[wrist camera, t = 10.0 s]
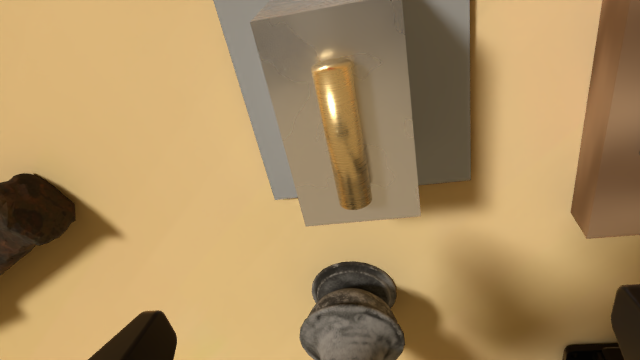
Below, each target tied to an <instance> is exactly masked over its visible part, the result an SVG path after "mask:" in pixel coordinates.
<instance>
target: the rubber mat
mask: <svg viewBox="0 0 640 360" xmlns="http://www.w3.org/2000/svg"><path fill="white" fill-rule="evenodd" d="M213 1H214V4H215V7H216V11H217V14H218V17H219V20H220V23H221V27H222V30H223V33H224V36H225V40H226V43H227V46H228V49H229V53H230V56H231V59H232V62H233V66H234V69H235V72H236V75H237V79H238V82H239V85H240V88H241V92H242V95H243V98H244V101H245V104H246V108H247V111H248V114H249V117H250V121H251V124H252V127H253V130H254V134H255V137H256V140H257V143H258V147H259V150H260V153H261V156H262V160H263V163H264V166H265V169H266V172H267V176H268V179H269V182H270V185H271V189H272V192H273V195H274V198H275V200H278V199H288V198H298V196H297V192H296V189H295V185H294V181H293V178H292V174H291V170H290V167H289V163H288V159H287V156H286V152H285V148H284V145H283V141H282V138H281V134H280V130H279V127H278V123H277V119H276V116H275V112H274V108H273V105H272V101H271V97H270V94H269V90H268V86H267V83H266V79H265V75H264V72H263V68H262V64H261V61H260V57H259V54H258V50H257V46H256V43H255V39H254V35H253V32H252V28H251V24H250V21H251V20H252V19H253V18H254V17H255V16H256V15H257V14H258V13H259V12H260V10H261V9H262V8H263V7H264V6H265V5H266V4H267V3H268V2H269V1H270V0H213ZM402 6H403V18H404V29H405V40H406V52H407V63H408V75H409V86H410V97H411V109H412V120H413V132H414V143H415V154H416V166H417V177H418V185H427V184H437V183H447V182H456V181H466V180H471V141H470V0H402Z"/></svg>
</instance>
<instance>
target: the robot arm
mask: <svg viewBox="0 0 640 360" xmlns="http://www.w3.org/2000/svg"><path fill="white" fill-rule="evenodd" d="M611 324H612V328H613V331H614V333H615V336H616V339H617V341H618V344H600V345H572V346H568V347H566V348H565V350H564V354H563V359H562V360H640V284H636V285H622V286H620V287H619V288H618V290H617V292H616V296H615V301H614V305H613V309H612V313H611ZM176 345H177V337H176V333H175V331H174V330H173V328H172V326H171V324H170V323H169V321H168V319H167V318H166V316H165V314H164V313H163V312H162V311H145V312H142V313H141V314H139V315H138V316H137V317H136V318H135V319H134V320H132V321H131V322H130V323H129V324H128V325H127V326H126V327H124V328H123V329H122V330H121V331H120V332H119V333H118V334H117V335H115V336H114V337H113V338H112V339H111V340H110V341H109V342H108V343H106V344H105V345H104V346H103V347H102V348H101V349H100V350H99V351H97V352H96V353H95V354H94V355H93V356H92V357H91V358H89V359H88V360H173V359H174V354H175V350H176Z"/></svg>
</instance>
